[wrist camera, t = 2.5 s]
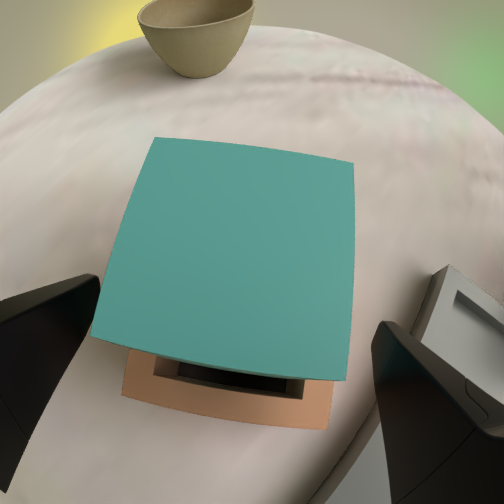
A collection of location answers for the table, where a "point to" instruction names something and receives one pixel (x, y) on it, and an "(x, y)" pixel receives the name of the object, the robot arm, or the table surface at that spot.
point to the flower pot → (196, 32)
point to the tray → (449, 349)
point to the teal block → (235, 261)
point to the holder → (227, 395)
